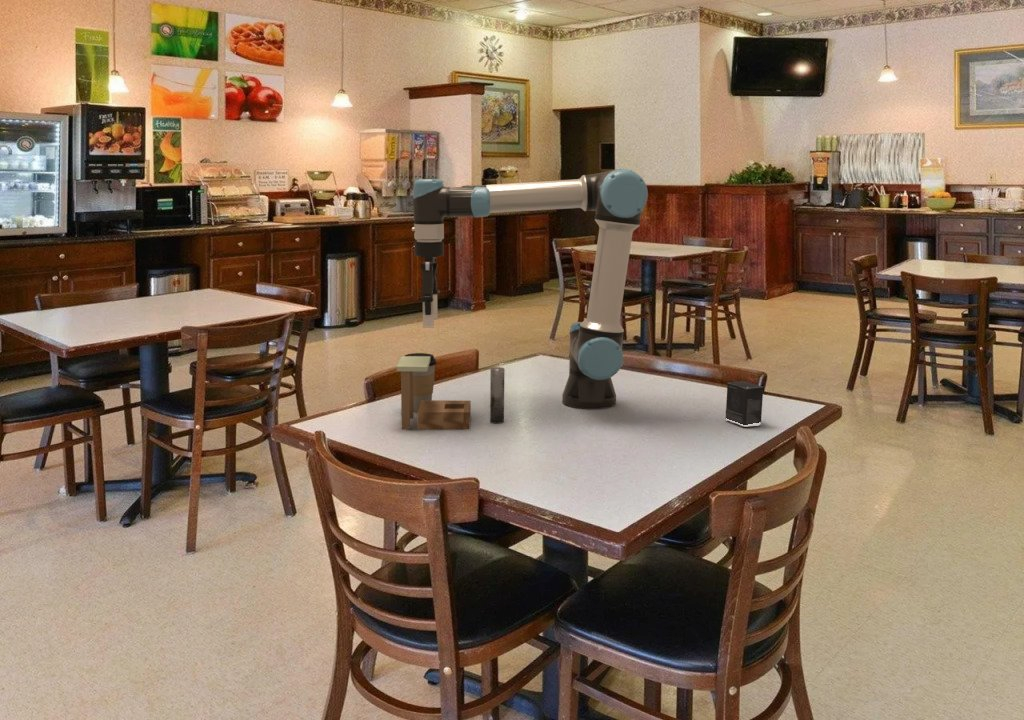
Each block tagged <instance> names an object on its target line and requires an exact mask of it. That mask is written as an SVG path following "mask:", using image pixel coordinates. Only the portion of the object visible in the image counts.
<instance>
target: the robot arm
mask: <svg viewBox="0 0 1024 720" xmlns="http://www.w3.org/2000/svg"><path fill="white" fill-rule="evenodd" d="M412 190H413V191H412V193H413V194H412V205H413V207H412V208H413V227H411V231H412V232H414V235H413V236H414V237H413V238H414V239H415V242H414V243H413V244H414V247H413V248H414V250H413V251H414V252H413V253H414V256H415V257H419V258H423V261H422V263H421V265H420V268H421V279H422V285H421V289H422V290H421V291H422V292H421V297H420V298H419V303H422V328H423V329H424V328H435V320H438V317H439V316H438V313H439V312H438V310H439V309H438V294H441V292H440V291H441V290H440V289H439V288H438V268H439V266H438V265H439V264H438V262H437V258H438V257H439V258H440V257H443V256H444V255H445V245H444V244H445V242H444V241H443V240H444V239H445V231H444V230H445V227H444V225H445V223H444V218H445V217H447V218H454V217H455V218H476V219H477V218H482V217H483V218H485V217H486V218H487V217H488V216H490V214H495V213H496V214H498V213H516V212H530V211H546V210H547V211H549V210H564V209H565V210H567V209H581V210H582V211H584V212H593V211H594V212H595V215H594V221H595V222H596V224H597V225H598V227H599V230H598V236H597V244H596V250H595V257H594V264H593V272H592V279H591V284H590V293H589V299H588V308H587V313H586V314H587V316H586V319H585V320H583V321H577V322H573V323H571V325H570V329H569V333H568V335H569V365H568V366H569V367H568V368H569V369H568V370H569V371H568V378H567V381H566V384H565V386H564V389H563V392H562V397H561V398H562V399H561V401H562V404H564V405H565V406H568V407H571V408H576V409H583V410H585V409H586V410H600V409H609V408H611V407H614V406H616V404H617V393H616V390H615V387H614V384H613V380H612V377H614V376H615V375H616V374H618V372H619V371H620V370H621V368H622V366H623V364H624V363H623V362H624V352H623V349H622V346H623V340H624V333H625V329H624V328H623V326H622V325H621V323H620V321H621V320H620V319H621V313H622V308H623V307H622V306H623V299H624V292H625V286H626V281H627V280H626V279H627V273H628V266H629V259H630V253H631V246H632V241H633V240H632V239H633V232H635V230H636V229H638V228H640V225H641V220H642V214H643V213H642V212H643V210H644V209H645V206H646V205H647V202H648V198H649V197H648V196H649V195H648V194H649V192H648V186H647V184H646V182H645V180H644V179H643V177H641V176H640V175H639V174H638V173H636V172H635V171H634V170H632V169H626V168H625V169H624V168H622V169H621V168H618V169H610V170H607V171H604V172H598V173H593V174H583V175H581V177H579V178H577V179H561V180H560V179H558V180H545V181H530V182H528V181H525V182H511V183H510V182H509V183H493V184H482V185H481V184H477V185H476V184H475V185H469V184H467V185H461V186H454V187H452V186H451V187H450V186H444V182H443V180H442V179H438V178H435V179H434V178H433V179H430V178H429V179H427V178H421V179H420V178H419V179H416V180H415V181H414V182H413V189H412Z"/></svg>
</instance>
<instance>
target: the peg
mask: <svg viewBox="0 0 1024 720" xmlns="http://www.w3.org/2000/svg"><path fill="white" fill-rule="evenodd" d="M505 370H506V369H505V368H504V367H498V366H497V367H496V366H495V367H491V368H490V372H489V373H490V374H489V375H490V378H489V379H490V380H489V381H490V385H489V386H490V388H489V389H490V390H489V392H490V394H489V395H490V396H489V397H490V398H489V400H490V402H489V403H490V405H489V407H490V410H489V411H490V412H489V413H490V414H489V417H490V418H489V422H490V423H493V424H502V423H505Z"/></svg>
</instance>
